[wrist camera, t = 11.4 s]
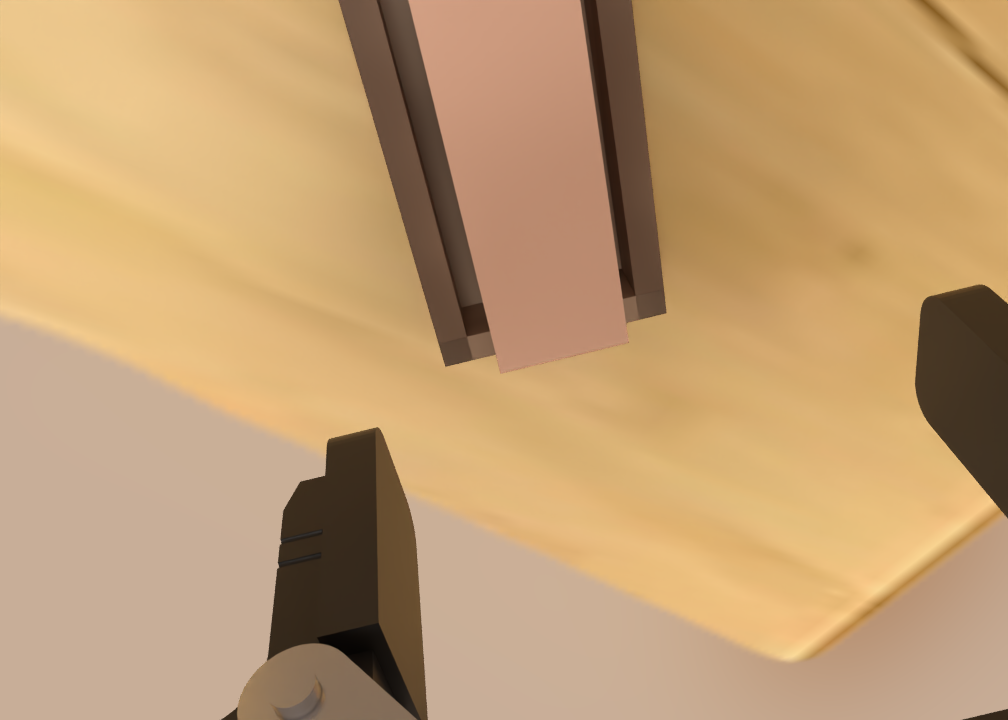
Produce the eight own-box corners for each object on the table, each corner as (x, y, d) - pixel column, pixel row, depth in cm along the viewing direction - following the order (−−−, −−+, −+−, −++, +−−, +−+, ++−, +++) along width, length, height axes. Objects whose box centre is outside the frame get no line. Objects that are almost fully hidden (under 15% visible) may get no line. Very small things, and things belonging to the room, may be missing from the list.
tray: (566, -352, 24) (590, -363, 21) (644, 272, 34) (666, 313, 32) (266, -279, 24) (256, -282, 21) (439, 322, 34) (445, 366, 32)
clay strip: (360, -206, 24) (360, -194, 19) (507, -242, 24) (546, -239, 19) (478, 278, 32) (500, 373, 28) (587, 252, 32) (628, 342, 28)
